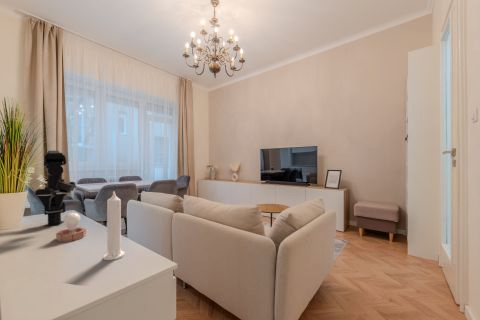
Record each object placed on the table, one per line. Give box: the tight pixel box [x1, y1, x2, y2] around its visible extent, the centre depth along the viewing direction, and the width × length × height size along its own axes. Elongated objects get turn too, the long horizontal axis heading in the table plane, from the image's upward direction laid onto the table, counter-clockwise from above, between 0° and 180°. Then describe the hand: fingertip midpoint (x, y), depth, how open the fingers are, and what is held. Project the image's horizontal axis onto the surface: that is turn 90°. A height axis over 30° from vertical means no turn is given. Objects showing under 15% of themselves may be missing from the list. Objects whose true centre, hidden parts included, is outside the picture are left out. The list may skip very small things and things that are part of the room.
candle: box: [103, 190, 125, 261], centre depth 84 cm, size 7×7×25 cm
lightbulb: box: [62, 212, 81, 234], centre depth 104 cm, size 6×6×11 cm
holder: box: [55, 226, 87, 243], centre depth 104 cm, size 10×10×3 cm
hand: (53, 208), depth 110 cm, fingers open, 9 cm apart
